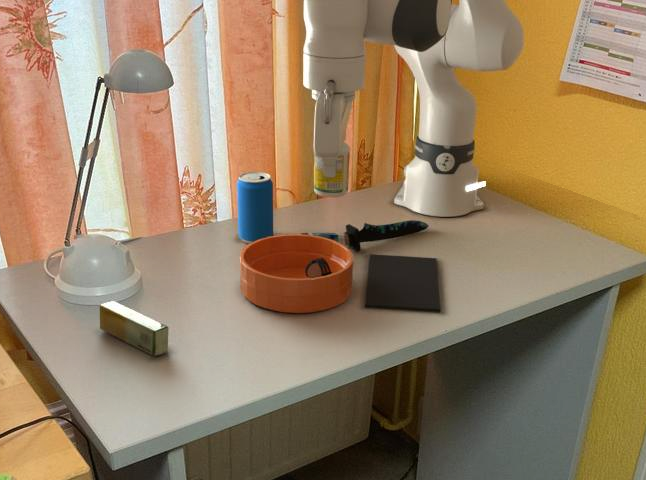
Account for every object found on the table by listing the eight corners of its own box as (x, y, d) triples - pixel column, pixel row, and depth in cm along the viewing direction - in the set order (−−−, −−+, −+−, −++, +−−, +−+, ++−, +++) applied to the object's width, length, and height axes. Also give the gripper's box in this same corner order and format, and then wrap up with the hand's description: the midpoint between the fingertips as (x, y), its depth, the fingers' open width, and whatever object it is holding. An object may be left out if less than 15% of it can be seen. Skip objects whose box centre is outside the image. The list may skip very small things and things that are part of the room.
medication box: (169, 351, 112) (170, 326, 111) (155, 357, 110) (155, 332, 109) (113, 323, 118) (112, 299, 116) (98, 328, 116) (97, 303, 114)
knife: (300, 258, 138) (303, 234, 136) (292, 252, 140) (294, 228, 138) (434, 243, 155) (438, 222, 153) (424, 238, 157) (429, 216, 155)
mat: (369, 257, 143) (369, 254, 143) (436, 261, 143) (436, 258, 143) (364, 307, 126) (365, 304, 126) (440, 312, 126) (440, 309, 126)
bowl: (251, 263, 139) (250, 231, 136) (354, 269, 139) (356, 237, 135) (231, 311, 124) (230, 276, 120) (348, 318, 123) (350, 283, 120)
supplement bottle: (332, 200, 119) (334, 137, 114) (306, 192, 122) (306, 129, 117) (355, 192, 123) (357, 129, 118) (329, 183, 126) (330, 122, 121)
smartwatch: (328, 281, 133) (329, 253, 131) (332, 295, 129) (332, 266, 126) (304, 281, 133) (304, 254, 130) (306, 295, 128) (307, 267, 126)
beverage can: (279, 241, 148) (279, 179, 142) (248, 248, 145) (247, 184, 138) (262, 230, 152) (261, 168, 146) (232, 236, 149) (230, 174, 143)
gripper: (351, 92, 104) (347, 193, 112) (360, 60, 122) (356, 149, 129) (303, 89, 104) (302, 190, 112) (319, 58, 122) (318, 147, 129)
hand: (331, 168), depth 120 cm, fingers closed on supplement bottle, 5 cm apart
